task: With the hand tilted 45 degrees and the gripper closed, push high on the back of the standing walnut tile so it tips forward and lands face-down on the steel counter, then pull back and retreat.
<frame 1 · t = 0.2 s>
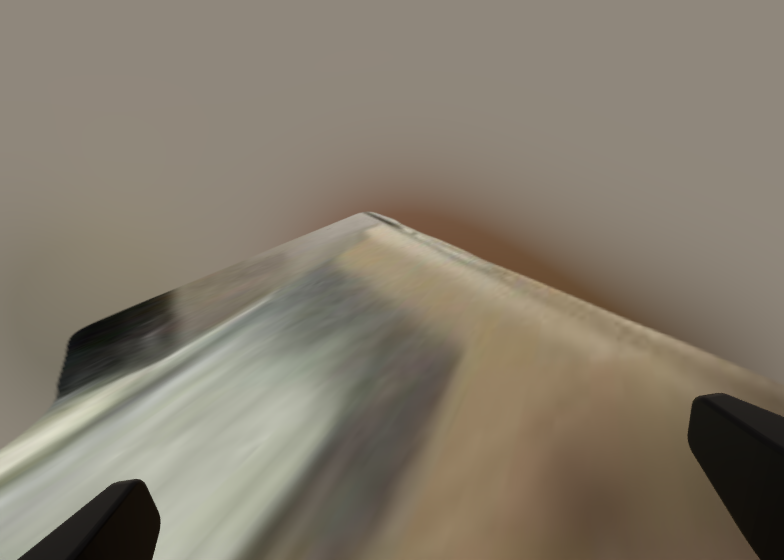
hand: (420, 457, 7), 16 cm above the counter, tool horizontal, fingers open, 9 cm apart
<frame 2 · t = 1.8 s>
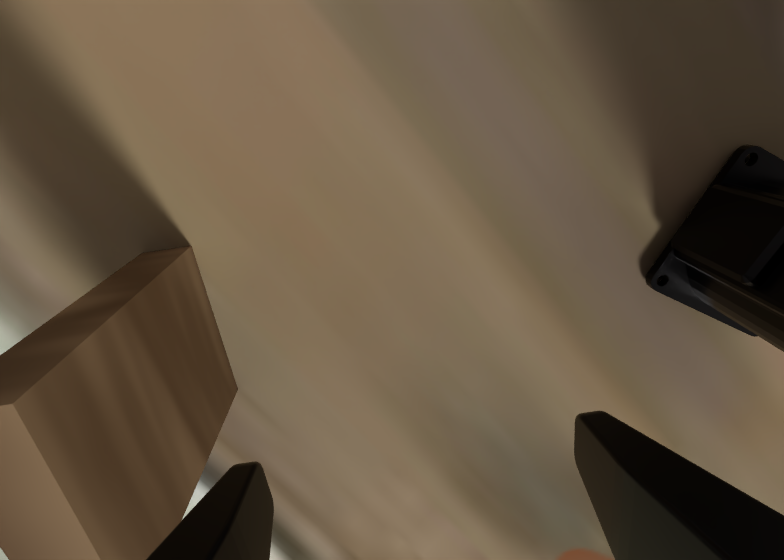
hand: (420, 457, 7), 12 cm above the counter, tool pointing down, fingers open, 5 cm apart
walnut tile: (193, 325, 20), on the counter
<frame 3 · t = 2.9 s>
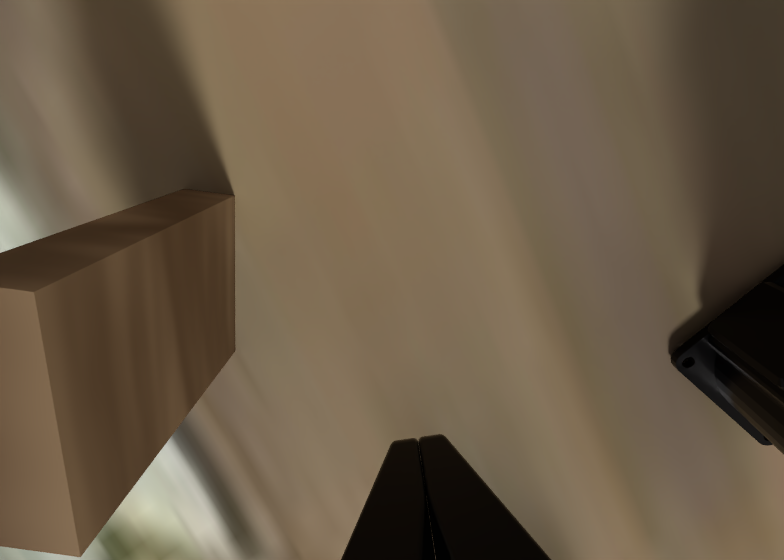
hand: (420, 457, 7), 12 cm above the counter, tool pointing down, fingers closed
walnut tile: (211, 275, 19), on the counter
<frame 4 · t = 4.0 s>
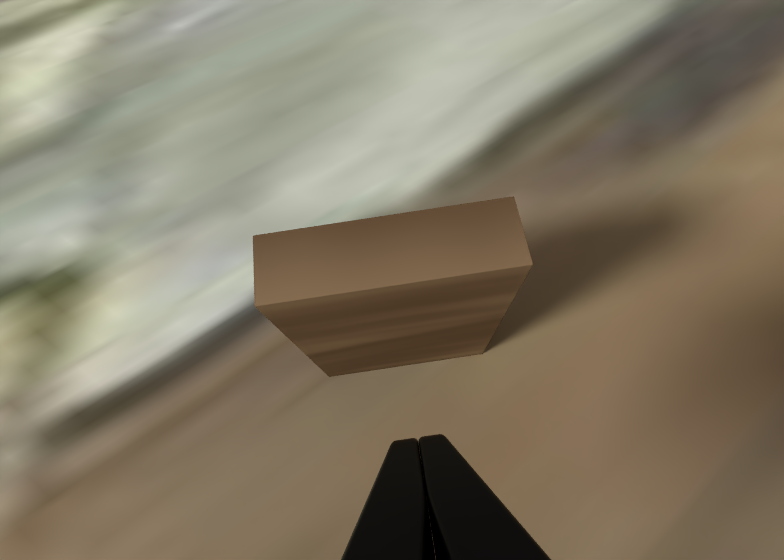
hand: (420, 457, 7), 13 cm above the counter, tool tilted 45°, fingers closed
walnut tile: (402, 343, 21), on the counter
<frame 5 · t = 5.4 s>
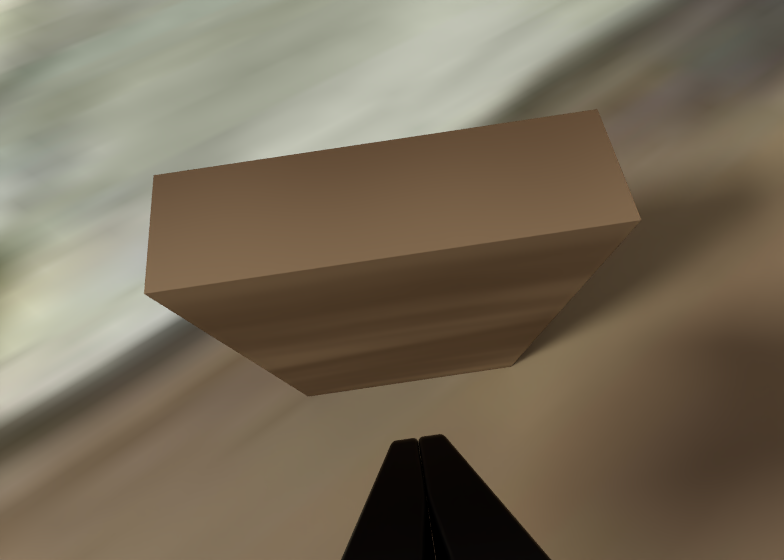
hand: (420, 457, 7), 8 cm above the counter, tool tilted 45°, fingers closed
walnut tile: (405, 353, 16), on the counter
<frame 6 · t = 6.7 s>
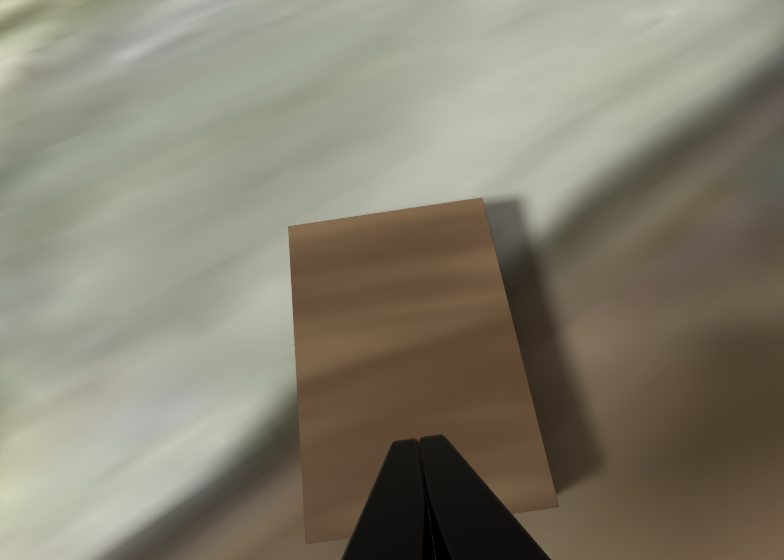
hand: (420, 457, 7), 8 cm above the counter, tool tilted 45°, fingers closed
walnut tile: (431, 521, 13), point 1 cm above the counter, tilted 90°
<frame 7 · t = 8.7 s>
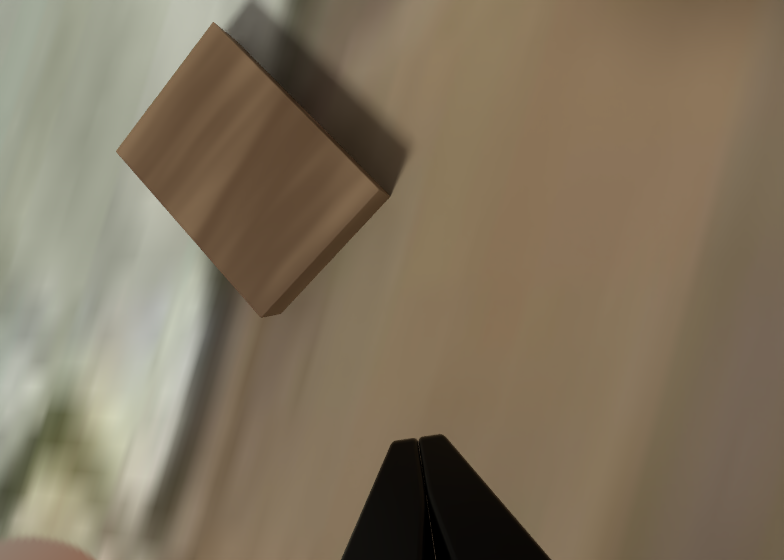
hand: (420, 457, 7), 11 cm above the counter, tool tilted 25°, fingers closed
walnut tile: (327, 256, 19), point 1 cm above the counter, tilted 90°
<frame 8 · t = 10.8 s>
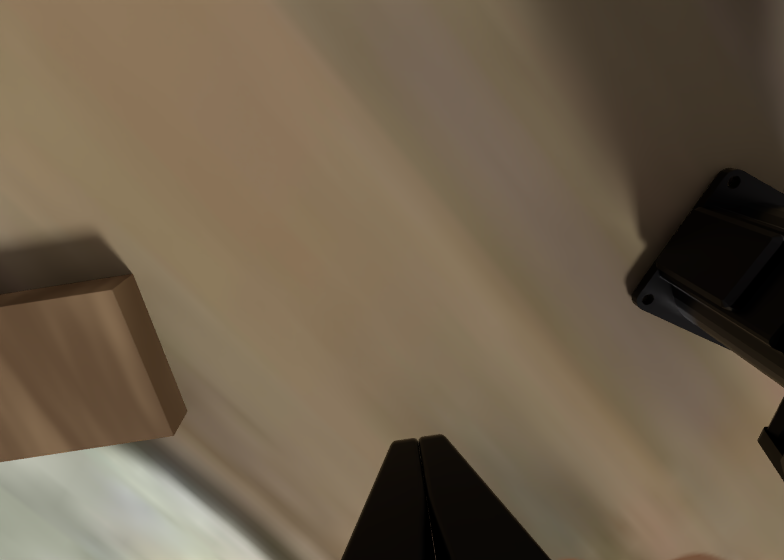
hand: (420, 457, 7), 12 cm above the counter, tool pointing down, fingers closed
walnut tile: (155, 354, 19), point 1 cm above the counter, tilted 90°
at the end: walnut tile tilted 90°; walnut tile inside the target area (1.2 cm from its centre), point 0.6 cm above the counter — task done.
